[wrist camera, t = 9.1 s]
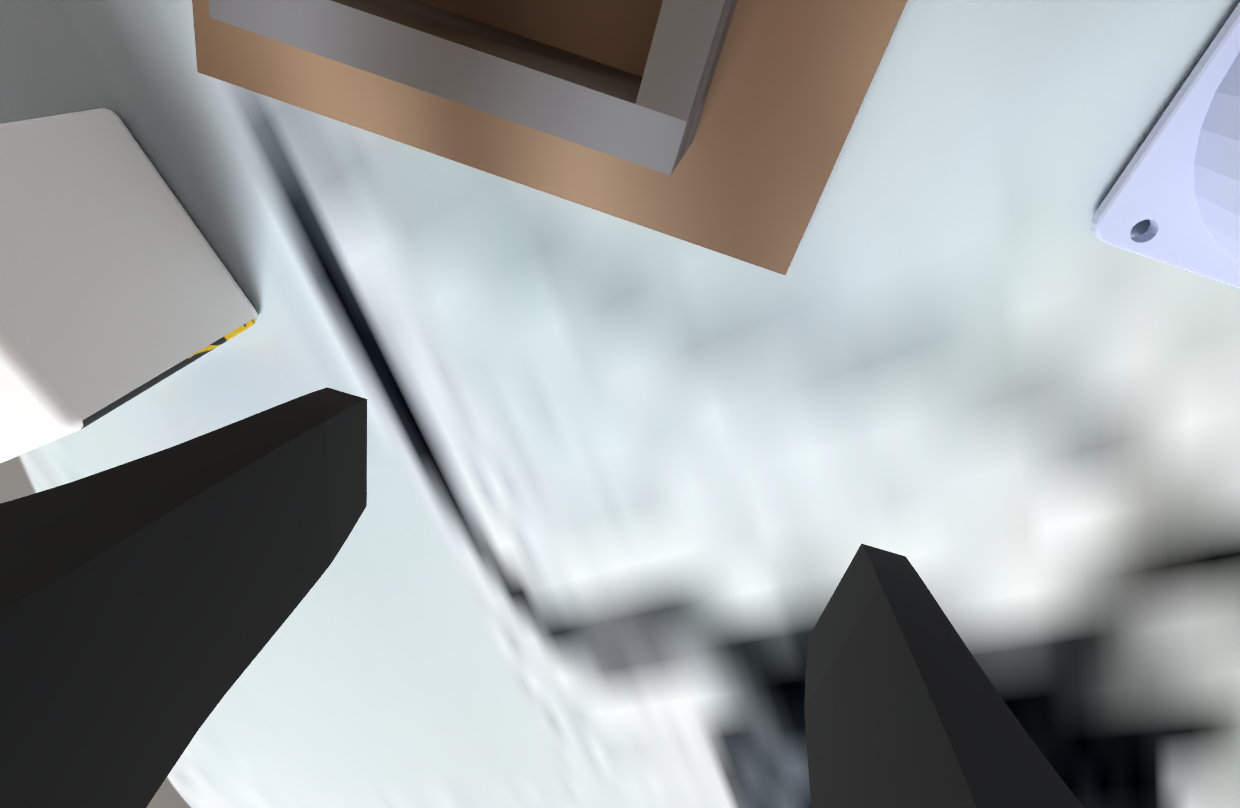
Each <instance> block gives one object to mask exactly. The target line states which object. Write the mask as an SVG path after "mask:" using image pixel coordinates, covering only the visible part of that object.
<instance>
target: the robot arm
mask: <svg viewBox="0 0 1240 808" xmlns="http://www.w3.org/2000/svg"><path fill="white" fill-rule="evenodd" d="M1145 219H1147V220H1150V226H1149V228H1148V230H1147V231H1146V232H1145V233H1144V234H1143V235H1141V236H1138V237H1135V238H1133V237H1131V235H1130V232H1131V230H1132V228H1133V227H1134V226H1135V225H1136V224H1137V223H1138V222H1140V221H1143V220H1145ZM1091 229H1092V231H1093V233H1094V235H1095V236H1096V237H1097V238H1099V239H1100V240H1102V241H1103V242H1105V243H1106V244H1109V245H1112V246H1115V247H1118V248H1121V249H1124V250H1126V251H1129V252H1132V253H1135V254H1138V255H1141V256H1144V257H1147V258H1150V259H1153V260H1156V261H1159V262H1162V263H1165V264H1168V265H1171V266H1174V267H1177V268H1180V269H1182V270H1185V271H1188V272H1191V273H1194V274H1197V275H1200V276H1203V277H1206V278H1209V279H1212V280H1215V281H1218V282H1221V283H1224V284H1227V285H1230V286H1233V287H1236V288H1238V289H1240V2H1239V3H1238V5H1237V6H1236V8H1235V9H1234V11H1233V12H1232V14H1231V15H1230V17H1229V18H1228V20H1227V21H1226V22H1225V24H1224V25H1223V27H1222V28H1221V30H1220V31H1219V33H1218V34H1217V36H1216V37H1215V39H1214V40H1213V41H1212V43H1211V44H1210V46H1209V47H1208V49H1207V50H1206V52H1205V53H1204V55H1203V56H1202V57H1201V59H1200V60H1199V62H1198V63H1197V65H1196V66H1195V68H1194V69H1193V71H1192V72H1191V74H1190V75H1189V76H1188V78H1187V79H1186V81H1185V82H1184V84H1183V85H1182V87H1181V88H1180V90H1179V91H1178V92H1177V94H1176V95H1175V97H1174V98H1173V100H1172V101H1171V103H1170V104H1169V106H1168V107H1167V109H1166V110H1165V111H1164V113H1163V114H1162V116H1161V117H1160V119H1159V120H1158V122H1157V123H1156V125H1155V126H1154V127H1153V129H1152V130H1151V132H1150V133H1149V135H1148V136H1147V138H1146V139H1145V141H1144V142H1143V144H1142V145H1141V146H1140V148H1139V149H1138V151H1137V152H1136V154H1135V155H1134V157H1133V158H1132V160H1131V161H1130V163H1129V164H1128V165H1127V167H1126V168H1125V170H1124V171H1123V173H1122V174H1121V176H1120V177H1119V179H1118V180H1117V181H1116V183H1115V184H1114V186H1113V187H1112V189H1111V190H1110V192H1109V193H1108V195H1107V196H1106V198H1105V199H1104V200H1103V202H1102V203H1101V205H1100V206H1099V208H1098V209H1097V211H1096V212H1095V214H1094V216H1093V218H1092V221H1091ZM366 499H367V399H365V398H361V397H358V396H354V395H351V394H347V393H344V392H341V391H337V390H334V389H330V388H324V389H321V390H318V391H315V392H312V393H310V394H307V395H304V396H301V397H299V398H296V399H293V400H291V401H288V402H286V403H283V404H281V405H278V406H276V407H273V408H271V409H268V410H265V411H263V412H260V413H258V414H255V415H253V416H250V417H248V418H245V419H243V420H240V421H238V422H235V423H233V424H230V425H228V426H225V427H222V428H220V429H217V430H215V431H212V432H210V433H207V434H205V435H202V436H199V437H197V438H194V439H192V440H189V441H187V442H184V443H181V444H179V445H176V446H174V447H171V448H168V449H165V450H163V451H160V452H157V453H154V454H151V455H148V456H145V457H143V458H140V459H137V460H134V461H131V462H128V463H125V464H123V465H120V466H117V467H114V468H111V469H108V470H105V471H103V472H100V473H97V474H94V475H91V476H88V477H86V478H83V479H80V480H77V481H74V482H71V483H68V484H64V485H61V486H58V487H55V488H52V489H49V490H45V491H42V492H39V493H35V494H32V495H29V496H26V497H22V498H19V499H15V500H12V501H9V502H5V503H1V504H0V808H146V807H147V805H148V804H149V802H150V801H151V799H152V798H153V796H154V795H155V793H156V792H157V790H158V789H159V787H160V786H161V784H162V783H163V781H164V780H165V778H166V777H167V776H168V774H169V773H170V771H171V770H172V768H173V767H174V765H175V764H176V762H177V761H178V759H179V758H180V756H181V755H182V753H183V752H184V750H185V749H186V747H187V746H188V744H189V743H190V741H191V740H192V738H193V737H194V735H195V734H196V732H197V731H198V730H199V728H200V727H201V725H202V724H203V723H204V721H205V720H206V719H207V717H208V716H209V715H210V713H211V712H212V711H213V710H214V708H215V707H216V706H217V704H218V703H219V702H220V700H221V699H222V698H223V696H224V695H225V694H226V693H227V691H228V690H229V689H230V688H231V686H232V685H233V684H234V683H235V681H236V680H237V679H238V678H239V677H240V675H241V674H242V673H243V672H244V670H245V669H246V668H247V667H248V666H249V664H250V663H251V662H252V661H253V659H254V658H255V657H256V656H257V655H258V653H259V652H260V651H261V650H262V648H263V647H264V646H265V645H266V644H267V642H268V641H269V640H270V639H271V637H272V636H273V635H274V634H275V633H276V631H277V630H278V629H279V628H280V626H281V625H282V624H283V623H284V622H285V620H286V619H287V618H288V617H289V615H290V614H291V613H292V612H293V610H294V609H295V608H296V607H297V606H298V604H299V603H300V602H301V601H302V599H303V598H304V597H305V596H306V594H307V593H308V592H309V591H310V589H311V588H312V587H313V586H314V584H315V583H316V582H317V581H318V579H319V578H320V577H321V576H322V574H323V573H324V572H325V570H326V569H327V568H328V567H329V565H330V564H331V563H332V561H333V560H334V558H335V556H336V555H337V553H338V552H339V550H340V549H341V547H342V545H343V544H344V542H345V541H346V539H347V538H348V536H349V534H350V533H351V531H352V529H353V528H354V526H355V524H356V523H357V521H358V519H359V518H360V516H361V514H362V513H363V511H364V509H365V507H366ZM805 725H806V740H807V754H808V767H809V780H810V793H811V805H812V808H1084V807H1083V806H1082V805H1081V804H1080V802H1079V801H1078V800H1077V798H1076V797H1075V796H1074V795H1073V793H1072V792H1071V791H1070V789H1069V788H1068V787H1067V785H1066V784H1065V783H1064V781H1063V780H1062V779H1061V778H1060V776H1059V775H1058V774H1057V772H1056V771H1055V770H1054V768H1053V767H1052V766H1051V764H1050V763H1049V762H1048V761H1047V759H1046V758H1045V757H1044V755H1043V754H1042V753H1041V751H1040V750H1039V749H1038V747H1037V746H1036V745H1035V743H1034V742H1033V741H1032V739H1031V738H1030V737H1029V735H1028V734H1027V733H1026V731H1025V730H1024V728H1023V727H1022V726H1021V724H1020V723H1019V722H1018V720H1017V719H1016V717H1015V716H1014V715H1013V713H1012V712H1011V710H1010V709H1009V708H1008V706H1007V705H1006V703H1005V702H1004V701H1003V699H1002V698H1001V696H1000V695H999V693H998V692H997V691H996V689H995V688H994V686H993V685H992V683H991V682H990V681H989V679H988V678H987V676H986V675H985V673H984V672H983V670H982V669H981V667H980V666H979V665H978V663H977V662H976V660H975V659H974V657H973V656H972V654H971V653H970V651H969V650H968V648H967V647H966V645H965V644H964V642H963V641H962V639H961V638H960V636H959V635H958V633H957V632H956V630H955V629H954V627H953V626H952V624H951V623H950V621H949V620H948V618H947V617H946V615H945V614H944V612H943V611H942V609H941V608H940V606H939V605H938V603H937V602H936V600H935V599H934V597H933V596H932V594H931V593H930V591H929V590H928V588H927V587H926V585H925V584H924V582H923V581H922V579H921V578H920V576H919V575H918V573H917V572H916V571H915V569H914V568H913V566H912V565H911V564H910V562H909V561H908V559H907V558H906V557H905V556H902V555H898V554H895V553H891V552H888V551H885V550H881V549H878V548H874V547H871V546H867V545H864V544H861V546H860V547H859V549H858V551H857V553H856V555H855V556H854V558H853V560H852V562H851V563H850V565H849V567H848V569H847V571H846V572H845V574H844V576H843V578H842V579H841V581H840V583H839V585H838V586H837V588H836V590H835V592H834V594H833V595H832V597H831V599H830V601H829V602H828V604H827V606H826V608H825V610H824V611H823V613H822V615H821V617H820V618H819V620H818V622H817V624H816V626H815V627H814V629H813V631H812V633H811V634H810V636H809V638H808V647H807V663H806V681H805Z"/></svg>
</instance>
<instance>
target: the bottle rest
mask: <svg viewBox="0 0 1240 808" xmlns="http://www.w3.org/2000/svg"><path fill="white" fill-rule="evenodd" d="M906 2H907V0H192V3H193V16H194V29H195V43H196V56H197V69H198V72H199V73H202V74H205V75H208V76H211V77H214V78H217V79H220V80H223V81H225V82H228V83H231V84H234V85H237V86H240V87H243V88H246V89H249V90H251V91H254V92H257V93H260V94H263V95H266V96H269V97H272V98H275V99H277V100H280V101H283V102H286V103H289V104H292V105H295V106H298V107H301V108H303V109H306V110H309V111H312V112H315V113H318V114H321V115H324V116H327V117H329V118H332V119H335V120H338V121H341V122H344V123H347V124H350V125H353V126H355V127H358V128H361V129H364V130H367V131H370V132H373V133H376V134H379V135H381V136H384V137H387V138H390V139H393V140H396V141H399V142H402V143H404V144H407V145H410V146H413V147H416V148H419V149H422V150H425V151H428V152H430V153H433V154H436V155H439V156H442V157H445V158H448V159H451V160H454V161H456V162H459V163H462V164H465V165H468V166H471V167H474V168H477V169H480V170H482V171H485V172H488V173H491V174H494V175H497V176H500V177H503V178H506V179H508V180H511V181H514V182H517V183H520V184H523V185H526V186H529V187H532V188H534V189H537V190H540V191H543V192H546V193H549V194H552V195H555V196H558V197H560V198H563V199H566V200H569V201H572V202H575V203H578V204H581V205H584V206H586V207H589V208H592V209H595V210H598V211H601V212H604V213H607V214H610V215H612V216H615V217H618V218H621V219H624V220H627V221H630V222H633V223H636V224H638V225H641V226H644V227H647V228H650V229H653V230H656V231H659V232H662V233H664V234H667V235H670V236H673V237H676V238H679V239H682V240H685V241H688V242H690V243H693V244H696V245H699V246H702V247H705V248H708V249H711V250H714V251H716V252H719V253H722V254H725V255H728V256H731V257H734V258H737V259H740V260H742V261H745V262H748V263H751V264H754V265H757V266H760V267H763V268H766V269H768V270H771V271H774V272H777V273H780V274H783V275H786V273H787V270H788V268H789V266H790V264H791V261H792V259H793V257H794V255H795V252H796V250H797V248H798V246H799V243H800V241H801V239H802V237H803V234H804V232H805V230H806V228H807V225H808V223H809V221H810V219H811V216H812V214H813V212H814V210H815V207H816V205H817V203H818V201H819V198H820V196H821V194H822V192H823V189H824V187H825V185H826V183H827V180H828V178H829V176H830V174H831V171H832V169H833V167H834V164H835V162H836V160H837V158H838V155H839V153H840V151H841V149H842V146H843V144H844V142H845V140H846V137H847V135H848V133H849V131H850V128H851V126H852V124H853V122H854V119H855V117H856V115H857V113H858V110H859V108H860V106H861V104H862V101H863V99H864V97H865V95H866V92H867V90H868V88H869V86H870V83H871V81H872V79H873V77H874V74H875V72H876V70H877V68H878V65H879V63H880V61H881V59H882V56H883V54H884V52H885V50H886V47H887V45H888V43H889V41H890V38H891V36H892V34H893V32H894V29H895V27H896V25H897V23H898V20H899V18H900V16H901V13H902V11H903V9H904V7H905V4H906Z"/></svg>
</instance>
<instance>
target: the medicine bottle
mask: <svg viewBox="0 0 1240 808" xmlns="http://www.w3.org/2000/svg"><path fill="white" fill-rule="evenodd" d="M257 319H258V314H257V312H256V310H255V309H254V307H253V306H252V304H251V303H250V301H249V300H248V299H247V297H246V296H245V294H244V293H243V292H242V290H241V289H240V287H239V286H238V285H237V283H236V282H235V280H234V279H233V277H232V276H231V275H230V273H229V272H228V270H227V269H226V268H225V266H224V265H223V263H222V262H221V261H220V259H219V258H218V256H217V255H216V253H215V252H214V251H213V249H212V248H211V246H210V245H209V244H208V242H207V241H206V239H205V238H204V237H203V235H202V234H201V232H200V231H199V229H198V228H197V227H196V225H195V224H194V222H193V221H192V220H191V218H190V217H189V215H188V214H187V213H186V211H185V210H184V208H183V207H182V205H181V204H180V203H179V201H178V200H177V198H176V197H175V196H174V194H173V193H172V191H171V190H170V189H169V187H168V186H167V184H166V183H165V181H164V180H163V179H162V177H161V176H160V174H159V173H158V172H157V170H156V169H155V167H154V166H153V165H152V163H151V162H150V160H149V159H148V157H147V156H146V155H145V153H144V152H143V150H142V149H141V148H140V146H139V145H138V143H137V142H136V141H135V139H134V138H133V136H132V135H131V133H130V132H129V131H128V129H127V128H126V126H125V125H124V124H123V122H122V121H121V119H120V118H119V117H118V116H117V115H116V114H115V113H114V112H113V111H111V110H109V109H105V108H99V109H93V110H86V111H80V112H73V113H67V114H60V115H54V116H47V117H41V118H34V119H28V120H21V121H15V122H8V123H2V124H0V463H2V462H4V461H7V460H9V459H12V458H14V457H16V456H19V455H21V454H24V453H26V452H28V451H31V450H33V449H36V448H38V447H40V446H43V445H45V444H48V443H50V442H52V441H55V440H57V439H59V438H62V437H64V436H67V435H69V434H71V433H74V432H76V431H79V430H81V429H82V428H84V427H86V426H87V425H89V424H91V423H92V422H94V421H96V420H97V419H99V418H101V417H102V416H104V415H106V414H107V413H109V412H110V411H112V410H114V409H115V408H117V407H119V406H120V405H122V404H124V403H125V402H127V401H129V400H130V399H132V398H134V397H135V396H137V395H139V394H140V393H142V392H143V391H145V390H147V389H148V388H150V387H152V386H153V385H155V384H157V383H158V382H160V381H162V380H163V379H165V378H167V377H168V376H170V375H172V374H173V373H175V372H176V371H178V370H180V369H181V368H183V367H185V366H186V365H188V364H190V363H191V362H193V361H195V360H196V359H198V358H200V357H201V356H203V355H204V354H206V353H208V352H209V351H211V350H213V349H214V348H216V347H218V346H219V345H221V344H223V343H224V342H226V341H228V340H229V339H231V338H233V337H234V336H236V335H237V334H239V333H241V332H242V331H244V330H246V329H247V328H249V327H251V326H252V325H253V324H254V323H255V322H256V321H257Z"/></svg>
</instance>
